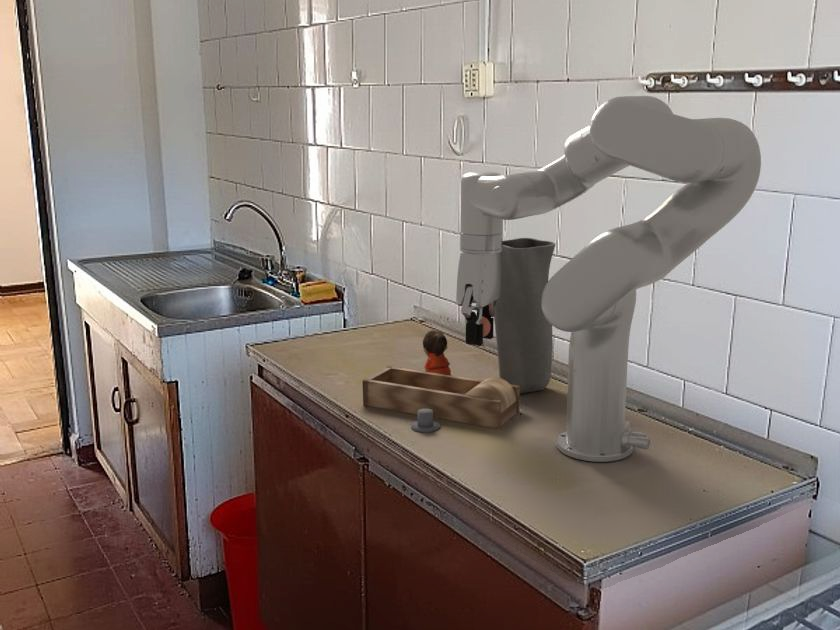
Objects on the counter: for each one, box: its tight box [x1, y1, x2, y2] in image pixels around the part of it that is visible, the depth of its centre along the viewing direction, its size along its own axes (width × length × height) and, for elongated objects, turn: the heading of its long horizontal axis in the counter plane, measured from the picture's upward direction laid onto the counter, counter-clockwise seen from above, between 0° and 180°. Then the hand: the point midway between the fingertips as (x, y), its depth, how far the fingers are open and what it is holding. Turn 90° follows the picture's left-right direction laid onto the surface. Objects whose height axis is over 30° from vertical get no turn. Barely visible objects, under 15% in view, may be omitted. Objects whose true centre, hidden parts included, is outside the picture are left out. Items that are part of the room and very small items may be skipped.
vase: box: [493, 237, 556, 395], centre depth 171 cm, size 12×12×30 cm
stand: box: [410, 409, 441, 433], centre depth 155 cm, size 5×5×3 cm
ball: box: [481, 316, 491, 337], centre depth 157 cm, size 4×4×4 cm
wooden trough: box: [362, 365, 521, 429], centre depth 164 cm, size 28×10×8 cm, turn 62°
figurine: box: [422, 329, 452, 376], centre depth 176 cm, size 6×6×12 cm
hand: (479, 340), depth 158 cm, fingers closed on ball, 4 cm apart
